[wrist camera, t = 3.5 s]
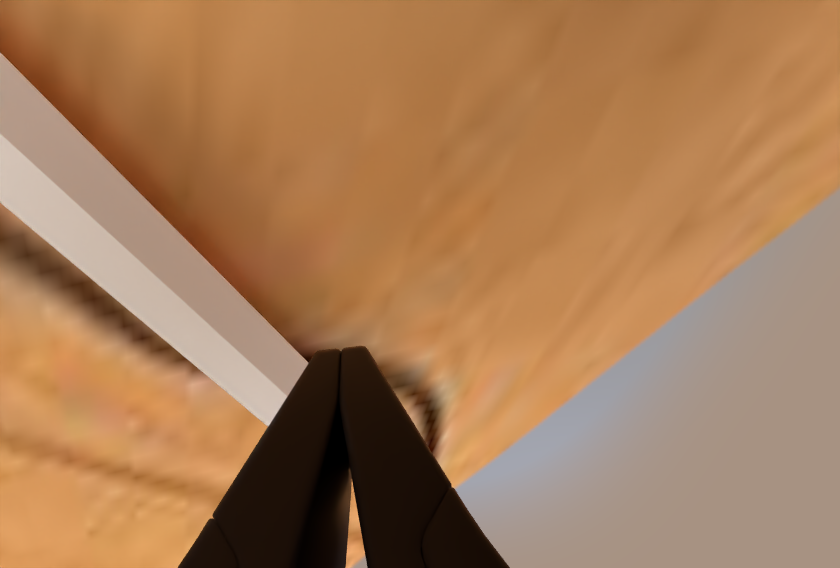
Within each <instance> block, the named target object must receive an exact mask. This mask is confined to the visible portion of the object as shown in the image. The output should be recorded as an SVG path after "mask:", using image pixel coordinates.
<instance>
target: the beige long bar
mask: <svg viewBox="0 0 840 568" xmlns="http://www.w3.org/2000/svg"><path fill="white" fill-rule="evenodd" d="M0 203H1V204H2V205H4V206H5V207H6V208H7V209H8V210H10V211H11V212H12V213H13V214H14V215H16V216H17V217H18V218H19V219H20V220H22V221H23V222H24V223H25V224H26V225H28V226H29V227H30V228H31V229H32V230H34V231H35V232H36V233H37V234H38V235H40V236H41V237H42V238H43V239H44V240H45V241H47V242H48V243H49V244H50V245H51V246H53V247H54V248H55V249H56V250H57V251H59V252H60V253H61V254H62V255H63V256H65V257H66V258H67V259H68V260H69V261H71V262H72V263H73V264H74V265H75V266H77V267H78V268H79V269H80V270H81V271H83V272H84V273H85V274H86V275H87V276H89V277H90V278H91V279H92V280H93V281H94V282H96V283H97V284H98V285H99V286H100V287H102V288H103V289H104V290H105V291H106V292H108V293H109V294H110V295H111V296H112V297H114V298H115V299H116V300H117V301H118V302H120V303H121V304H122V305H123V306H124V307H126V308H127V309H128V310H129V311H130V312H132V313H133V314H134V315H135V316H136V317H138V318H139V319H140V320H141V321H142V322H143V323H145V324H146V325H147V326H148V327H149V328H151V329H152V330H153V331H154V332H155V333H157V334H158V335H159V336H160V337H161V338H163V339H164V340H165V341H166V342H167V343H169V344H170V345H171V346H172V347H173V348H175V349H176V350H177V351H178V352H179V353H181V354H182V355H183V356H184V357H185V358H187V359H188V360H189V361H190V362H191V363H193V364H194V365H195V366H196V367H197V368H198V369H200V370H201V371H202V372H203V373H204V374H206V375H207V376H208V377H209V378H210V379H212V380H213V381H214V382H215V383H216V384H218V385H219V386H220V387H221V388H222V389H224V390H225V391H226V392H227V393H228V394H230V395H231V396H232V397H233V398H234V399H236V400H237V401H238V402H239V403H240V404H242V405H243V406H244V407H245V408H246V409H247V410H249V411H250V412H251V413H252V414H253V415H255V416H256V417H257V418H258V419H259V420H261V421H262V422H263V423H264V424H265V425H267V426H269V425H270V423H271V421H272V420H273V418H274V417H275V415H276V414H277V412H278V410H279V409H280V407H281V406H282V404H283V403H284V401H285V399H286V398H287V396H288V395H289V393H290V392H291V390H292V388H293V387H294V385H295V384H296V382H297V381H298V379H299V377H300V376H301V374H302V373H303V371H304V369H305V368H306V366H307V365H308V362H307V361H306V360H305V359H304V358H303V357H302V356H301V355H300V354H299V353H298V352H297V351H296V350H295V349H294V348H293V347H292V346H291V345H290V344H289V343H288V342H287V341H286V340H285V339H284V338H283V337H282V336H281V335H280V334H279V333H278V332H277V331H276V330H275V329H274V328H273V327H272V326H271V325H270V324H269V322H268V321H267V320H266V319H265V318H264V317H263V316H262V315H261V314H260V313H259V312H258V311H257V310H256V309H255V308H254V307H253V306H252V305H251V304H250V303H249V302H248V301H247V300H246V299H245V298H244V297H243V296H242V295H241V294H240V293H239V292H238V291H237V290H236V289H235V288H234V287H233V286H232V285H231V284H230V283H229V282H228V281H227V280H226V279H225V278H224V277H223V276H222V275H221V274H220V273H219V272H218V271H217V270H216V269H215V268H214V267H213V266H212V265H211V264H210V263H209V262H208V261H207V260H206V259H205V258H204V257H203V256H202V255H201V254H200V253H199V252H198V251H197V250H196V249H195V248H194V247H193V246H192V245H191V244H190V243H189V242H188V241H187V240H186V239H185V238H184V237H183V236H182V235H181V234H180V233H179V232H178V231H177V230H176V229H175V228H174V227H173V226H172V225H171V224H170V223H169V222H168V221H167V220H166V219H165V218H164V217H163V216H162V215H161V214H160V213H159V212H158V211H157V210H156V209H155V208H154V207H153V206H152V205H151V204H150V203H149V202H148V201H147V200H146V199H145V198H144V197H143V196H142V195H141V194H140V193H139V192H138V191H137V190H136V189H135V188H134V187H133V185H132V184H131V183H130V182H129V181H128V180H127V179H126V178H125V177H124V176H123V175H122V174H121V173H120V172H119V171H118V170H117V169H116V168H115V167H114V166H113V165H112V164H111V163H110V162H109V161H108V160H107V159H106V158H105V157H104V156H103V155H102V154H101V153H100V152H99V151H98V150H97V149H96V148H95V147H94V146H93V145H92V144H91V143H90V142H89V141H88V140H87V139H86V138H85V137H84V136H83V135H82V134H81V133H80V132H79V131H78V130H77V129H76V128H75V127H74V126H73V125H72V124H71V123H70V122H69V121H68V120H67V119H66V118H65V117H64V116H63V115H62V114H61V113H60V112H59V111H58V110H57V109H56V108H55V107H54V106H53V105H52V104H51V103H50V102H49V101H48V100H47V99H46V98H45V97H44V96H43V95H42V94H41V93H40V92H39V91H38V90H37V89H36V88H35V87H34V86H33V85H32V84H31V83H30V82H29V81H28V80H27V79H26V78H25V77H24V76H23V75H22V74H21V73H20V72H19V71H18V70H17V69H16V68H15V67H14V66H13V65H12V64H11V63H10V62H9V61H8V60H7V59H6V58H5V57H4V56H3V55H2V54H1V53H0Z"/></svg>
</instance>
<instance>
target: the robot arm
mask: <svg viewBox="0 0 840 568" xmlns="http://www.w3.org/2000/svg"><path fill="white" fill-rule="evenodd" d="M352 481H353V487H354V493H355V498H356V504H357V510H358V516H359V521H360V527H361V533H362V538H363V544H364V550H365V555H366V561H367V566H368V568H510V567H509V566H508V565H507V564H506V562H505V561H504V560H503V558H502V557H501V556H500V554H499V553H498V552H497V551H496V549H495V548H494V547H493V545H492V544H491V543H490V541H489V540H488V539H487V538H486V536H485V535H484V533H483V532H482V530H481V529H480V527H479V526H478V524H477V523H476V522H475V520H474V518H473V517H472V516H471V514H470V513H469V511H468V510H467V508H466V507H465V505H464V503H463V502H462V500H461V499H460V497H459V496H458V494H457V492H456V490H455V489H454V488H451V483H450V481H449V480H448V478H447V476H446V475H445V473H444V472H443V470H442V468H441V467H440V465H439V464H438V462H437V460H436V459H435V457H434V456H433V454H432V452H431V451H430V449H429V447H428V446H427V444H426V443H425V441H424V439H423V438H422V436H421V435H420V433H419V431H418V430H417V428H416V427H415V425H414V423H413V422H412V420H411V418H410V417H409V415H408V414H407V412H406V410H405V409H404V407H403V406H402V404H401V402H400V401H399V399H398V398H397V396H396V394H395V393H394V391H393V389H392V388H391V386H390V385H389V383H388V381H387V380H386V378H385V377H384V375H383V373H382V372H381V370H380V369H379V367H378V365H377V364H376V362H375V360H374V359H373V357H372V356H371V354H370V352H369V351H368V349H367V348H366V347H365V346H356V347H347V348H343V349H342V351H340V350H339V349H328V350H319V351H317V352H316V353H315V354H314V355H313V357H312V358H311V360H310V362H309V363H308V365H307V366H306V368H305V369H304V371H303V373H302V374H301V376H300V377H299V379H298V381H297V382H296V384H295V385H294V387H293V388H292V390H291V392H290V393H289V395H288V396H287V398H286V399H285V401H284V403H283V404H282V406H281V407H280V409H279V410H278V412H277V414H276V415H275V417H274V418H273V420H272V421H271V423H270V425H269V426H268V428H267V429H266V431H265V433H264V434H263V436H262V437H261V439H260V440H259V442H258V444H257V445H256V447H255V448H254V450H253V451H252V453H251V455H250V456H249V458H248V459H247V461H246V462H245V464H244V466H243V467H242V469H241V470H240V472H239V473H238V475H237V477H236V478H235V480H234V481H233V483H232V485H231V486H230V488H229V489H228V491H227V492H226V494H225V496H224V497H223V499H222V500H221V502H220V503H219V505H218V507H217V508H216V510H215V511H214V513H213V518H214V519H209V520H208V522H207V523H206V525H205V527H204V528H203V530H202V531H201V533H200V535H199V536H198V538H197V539H196V541H195V542H194V544H193V545H192V547H191V548H190V550H189V551H188V553H187V554H186V556H185V557H184V559H183V560H182V562H181V563H180V565H179V566H178V568H345V567H346V553H347V539H348V526H349V512H350V499H351V482H352Z"/></svg>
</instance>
